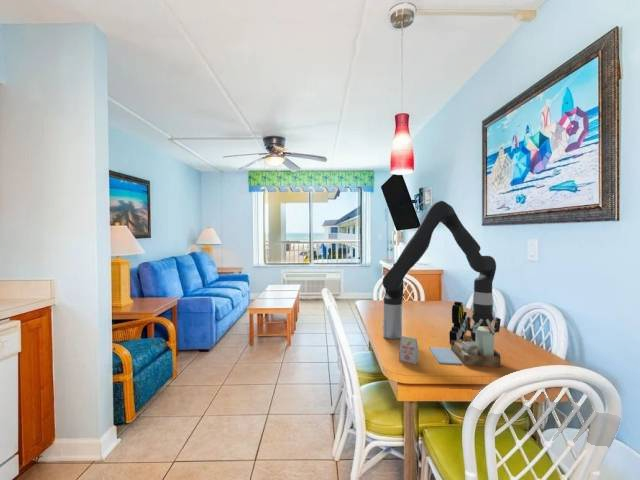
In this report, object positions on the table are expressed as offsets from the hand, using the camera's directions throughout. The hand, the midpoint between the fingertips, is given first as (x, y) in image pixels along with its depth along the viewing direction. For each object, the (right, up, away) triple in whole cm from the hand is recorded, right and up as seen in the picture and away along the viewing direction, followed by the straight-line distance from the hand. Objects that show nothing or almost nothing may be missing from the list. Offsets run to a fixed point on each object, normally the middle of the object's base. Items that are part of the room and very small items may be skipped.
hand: (482, 341), depth 140 cm
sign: (+1, -7, +25) cm, 26 cm away
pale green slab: (0, -7, 0) cm, 7 cm away
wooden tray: (-3, -7, 0) cm, 8 cm away
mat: (-15, -7, +2) cm, 17 cm away
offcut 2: (-7, -7, -4) cm, 11 cm away
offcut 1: (-6, -7, +5) cm, 11 cm away
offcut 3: (-7, -3, -4) cm, 9 cm away
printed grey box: (-33, -7, -4) cm, 34 cm away
